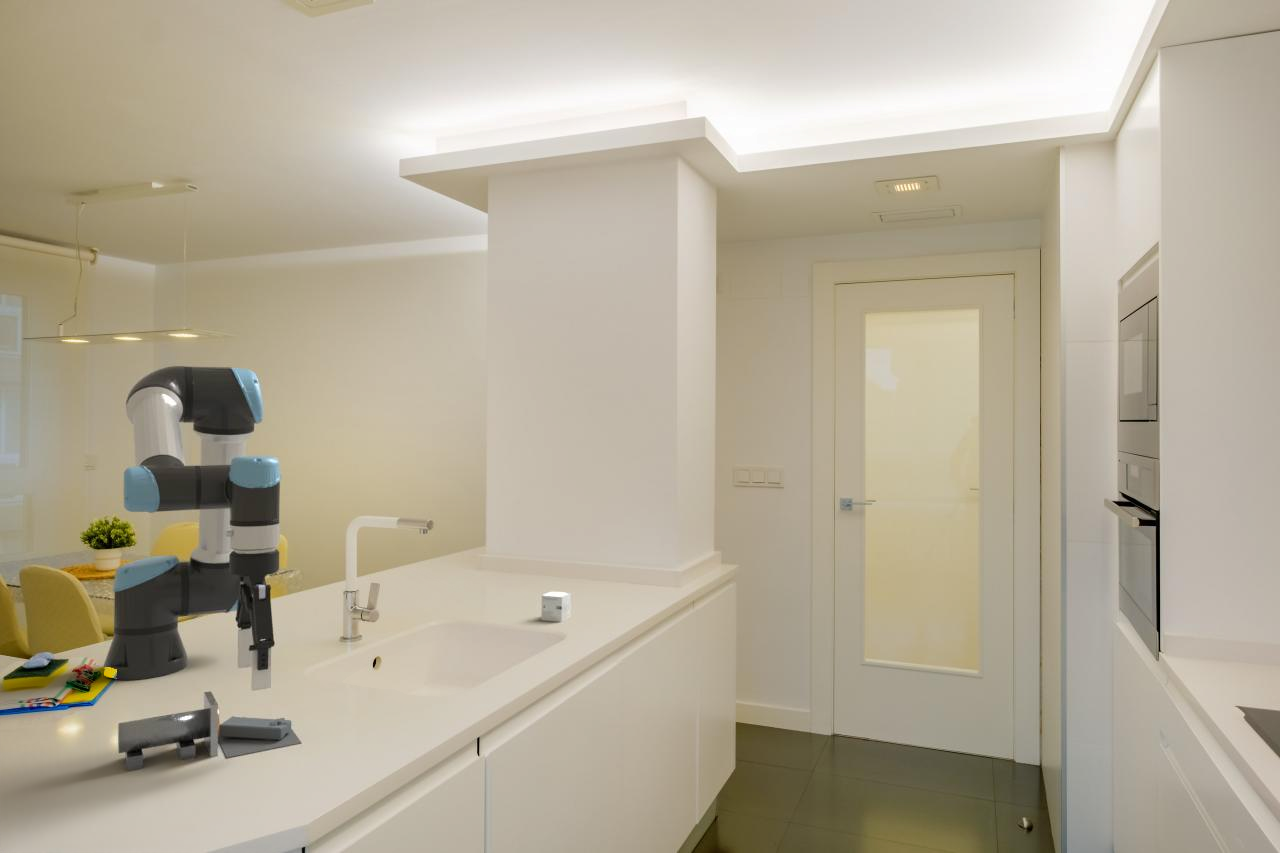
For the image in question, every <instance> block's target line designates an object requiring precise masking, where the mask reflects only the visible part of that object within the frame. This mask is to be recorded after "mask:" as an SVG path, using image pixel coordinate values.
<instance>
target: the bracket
mask: <svg viewBox="0 0 1280 853" xmlns="http://www.w3.org/2000/svg"><path fill="white" fill-rule="evenodd" d="M291 729H292V720H290V719H289V720H288V719H285V720H279V721H278V722H277V726H276V722H275V720H274V718H257V717H245V716H244V717H243V716H241V717H239V716H231V717H230V718H228V719H226V720H225V721H224V722H222V723H221V724H220V729H219V736H223V737H239V738H255V739H272V740H280V739H282V738H283V737H284V736H285V734H288V733H289V732H290V731H291Z"/></svg>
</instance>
